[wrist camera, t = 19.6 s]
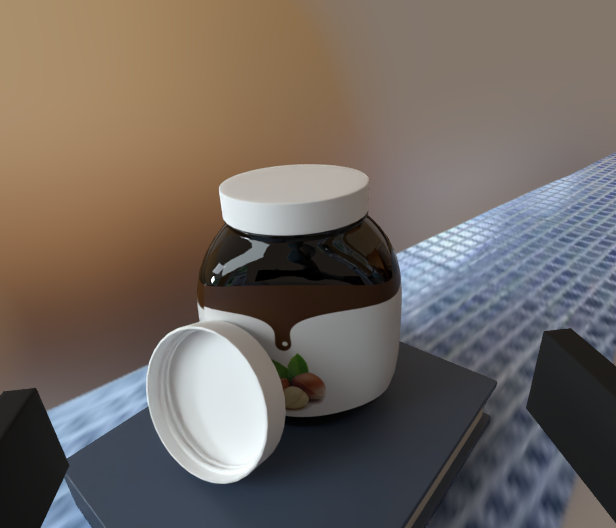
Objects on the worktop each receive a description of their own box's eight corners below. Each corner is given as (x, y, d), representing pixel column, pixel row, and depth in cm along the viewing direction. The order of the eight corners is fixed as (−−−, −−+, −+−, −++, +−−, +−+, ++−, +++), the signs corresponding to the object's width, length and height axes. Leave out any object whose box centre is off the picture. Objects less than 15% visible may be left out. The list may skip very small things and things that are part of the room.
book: (271, 782, 13) (261, 741, 11) (76, 505, 21) (58, 463, 20) (490, 420, 25) (497, 380, 23) (309, 336, 33) (307, 303, 32)
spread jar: (389, 340, 27) (396, 158, 22) (417, 507, 17) (441, 242, 12) (208, 340, 28) (175, 166, 23) (132, 497, 18) (46, 249, 13)
